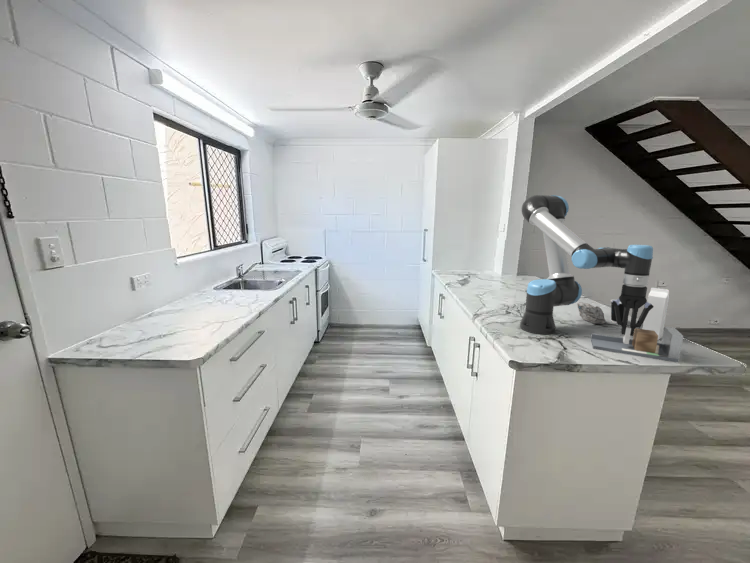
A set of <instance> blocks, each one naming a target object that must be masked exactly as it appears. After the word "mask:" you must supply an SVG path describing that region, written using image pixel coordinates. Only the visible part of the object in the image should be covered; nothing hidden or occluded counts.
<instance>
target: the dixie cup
mask: <svg viewBox="0 0 750 563" xmlns="http://www.w3.org/2000/svg"><path fill="white" fill-rule="evenodd" d="M617 299H618V298H617ZM617 299H613V298H612V299H610V302H611V305H610V307H611V308H610V310H611V311H610V320H611V322H612V324H613V323H614V324H617V321H616V315H615V308H614V305H613V303H612V300H617ZM619 303H620V304H619V305H618V306H619V312H620V318H621V322H622V321H623V314H624V306H623V304H622V303H621V302H619Z"/></svg>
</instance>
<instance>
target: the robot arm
mask: <svg viewBox="0 0 750 563" xmlns="http://www.w3.org/2000/svg"><path fill="white" fill-rule="evenodd" d="M569 210H570V209H569V203H568V200H566V198H564V197H563V196H560V195H554V194H553V195H552V194H550V195H545V194H544V195H540V194H539V195H538V194H537V195H531V196H529V197H528V198H526V199H525V200H524V201H523V204H522V206H521V214H522V216H523V217H522V218H524V220H525V221H526V222H528V223H529V224H530V225H531V226H536V228H538V229H539V230H540V231H541V232H542V235H543V242H544V243H543V244H544V249H545V255H546V260H547V261H546V262H547V268H548V269H547V270H548V277H547V278H541V279H540V278H539V279H534V280H531V281H530V282H528V283H527V288H526V299H525V310H524V314H523V316H522V318H521V320H520V322H519V328H520V329H521V330H523V331H525V332H528V333H530V334H531V333H532V334H536V335H537V334H538V335H551V334H554V333H556V327H557V326H556V322H555V318H554V315H553V314H554V307H562V306H570V305H573V304H575V303H577V302H578V301H579V300H580V299H581V297H582V294H583V288H582V286H581V284H580V283H579V282H578V281H577V280H575V276H574V275H573V274H571V273H570V272H571V271H570V268H569V267H570V266H569V261H568V255H569V256H570V257H571V262H572V264H573V266H574V267H576V268H577V269H580V270H582V269H584V270H585V269H586V270H589V269H597V268H610V267H611V268H618V269H620V268H621V269H624V272H623V278H622V283H623V284H622V285H621V292H620V295H619V296H618V298H617V300H613V299H611V300H612V303H613V305H614V308H615V315H616V321H617V323H616V324H617V325H618V326H621V329H620V330H621V331H620V334H621V335H623V337H622V338H623V342H624V344H629V339H631V337H633V336H634V330H635V328H637V329H641V327H643V323H644V320H645V318H646V316H647V314H648V312H649V311H650V310H651V309H652V308H653V307H654V306H653V305H652V304H650V303H648V302H647V292H648V291H647V290H648V287H647V286H648V284H649V280H650V279H649V278H650V271H651V267H652V260H653V259H654V257H653V254H654V248H653V246H652V245H649V244H629V245H628V247H627V248H616V247H615V248H614V247H608V246H606V247H597V248H594V247H593V246H591V245H589V244H588V243H587V242H586V241H585V240H583V238H581V237H579V236H578V235H577V234H576V233H575V232H574V231H573V230H571V229H570V228H568V227H567V226H566V225H565V224H564V222H565V221H566V217H567V215H568V213H569ZM567 254H568V255H567ZM619 302H621V303H622V304H623V306H624V314H623V321H622V322H621V318H620V312H619V306H618V305H619V304H620V303H619ZM643 306H644V308H642V307H643ZM640 308H642V311H641V313H640V315H639V318H638V317H637V316H638V312H639V309H640ZM630 309H632V310H630ZM630 311H631V315H630ZM629 315H630V316H631V317H630V324H629V326H628V320H629Z"/></svg>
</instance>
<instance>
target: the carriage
mask: <svg viewBox="0 0 750 563" xmlns="http://www.w3.org/2000/svg"><path fill="white" fill-rule="evenodd" d="M632 339H633V342H632V345H633V347H634V349H635V350H639V351H645V352H652V353H656V354H658V351H659V345H657V343H658V341H659V340H658V335H657V334H656V332H655V331H652V330H644V329H643V328H635V329H634V335H633V336H632Z"/></svg>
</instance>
